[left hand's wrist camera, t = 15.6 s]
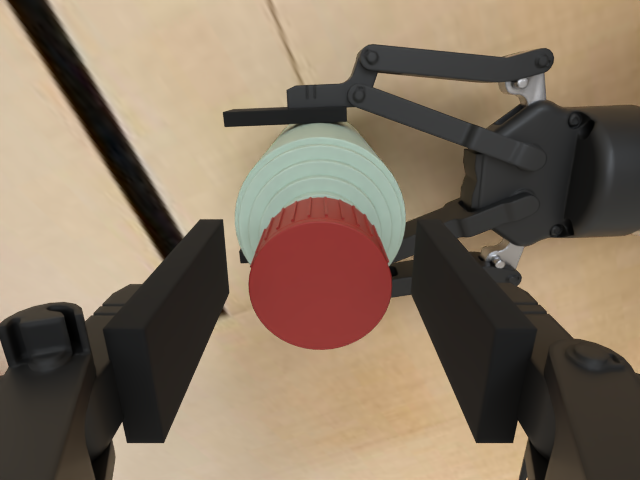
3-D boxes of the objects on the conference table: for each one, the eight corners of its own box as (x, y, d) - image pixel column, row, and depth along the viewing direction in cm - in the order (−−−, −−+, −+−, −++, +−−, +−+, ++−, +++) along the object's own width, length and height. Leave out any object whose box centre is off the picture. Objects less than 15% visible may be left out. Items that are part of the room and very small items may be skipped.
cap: (239, 277, 15) (222, 316, 12) (292, 172, 13) (286, 192, 11) (344, 325, 15) (348, 371, 13) (404, 230, 14) (422, 261, 12)
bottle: (310, 91, 29) (295, 103, 11) (388, 155, 30) (492, 261, 12) (252, 172, 31) (154, 300, 13) (328, 228, 32) (339, 415, 14)
